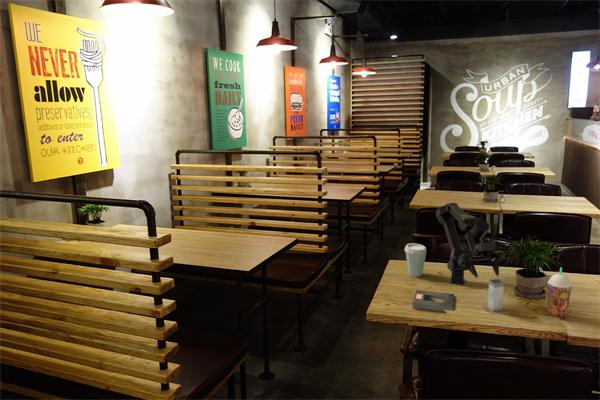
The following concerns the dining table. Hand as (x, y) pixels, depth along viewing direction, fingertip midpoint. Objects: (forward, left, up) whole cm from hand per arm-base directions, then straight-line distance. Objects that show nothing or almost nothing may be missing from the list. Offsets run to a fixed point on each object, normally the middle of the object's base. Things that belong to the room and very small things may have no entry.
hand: (487, 276), depth 195 cm
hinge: (-36, +23, -13) cm, 45 cm away
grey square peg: (+6, +3, -11) cm, 13 cm away
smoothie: (+2, +26, -13) cm, 29 cm away
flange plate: (+4, -21, -13) cm, 25 cm away
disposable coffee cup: (-28, -32, -13) cm, 44 cm away
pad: (+6, +3, -13) cm, 15 cm away
